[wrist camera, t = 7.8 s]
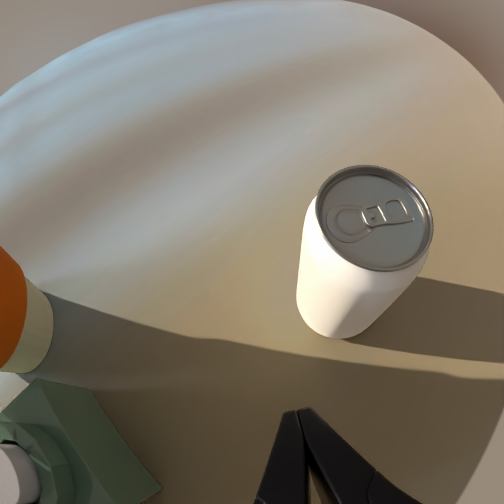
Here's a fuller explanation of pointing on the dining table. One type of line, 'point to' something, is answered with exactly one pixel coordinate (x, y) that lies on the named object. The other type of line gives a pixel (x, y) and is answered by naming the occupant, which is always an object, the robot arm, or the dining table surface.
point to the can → (360, 248)
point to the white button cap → (18, 476)
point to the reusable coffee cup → (22, 319)
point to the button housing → (74, 447)
